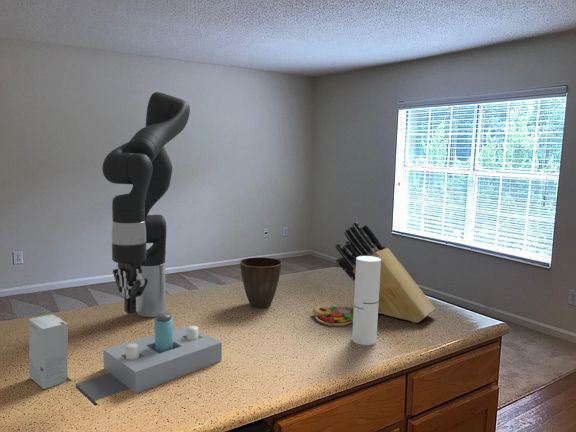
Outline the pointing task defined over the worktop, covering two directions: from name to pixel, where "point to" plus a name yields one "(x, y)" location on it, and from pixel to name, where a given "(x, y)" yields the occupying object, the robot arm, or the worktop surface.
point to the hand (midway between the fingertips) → (130, 312)
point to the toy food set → (333, 316)
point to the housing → (161, 359)
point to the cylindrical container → (366, 300)
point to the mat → (100, 387)
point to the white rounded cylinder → (132, 351)
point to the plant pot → (260, 280)
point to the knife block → (385, 276)
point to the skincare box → (48, 351)
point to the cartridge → (163, 332)
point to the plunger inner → (192, 333)
